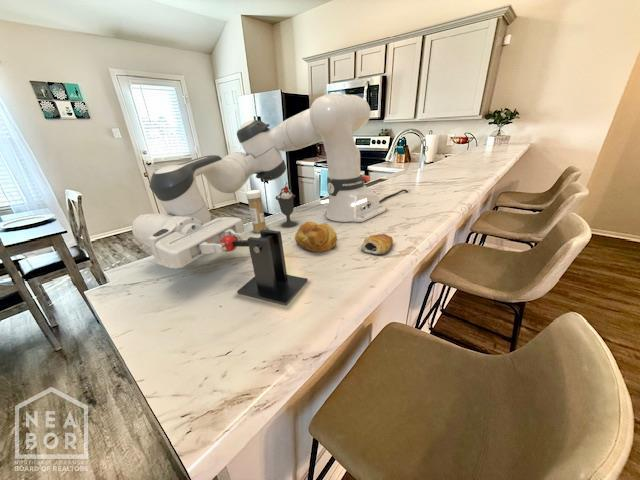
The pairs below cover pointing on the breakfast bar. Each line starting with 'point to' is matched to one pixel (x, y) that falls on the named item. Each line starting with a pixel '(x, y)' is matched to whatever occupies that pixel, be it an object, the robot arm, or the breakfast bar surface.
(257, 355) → the breakfast bar surface
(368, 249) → the pastry
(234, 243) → the switch lever
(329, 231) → the bread roll
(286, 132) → the robot arm
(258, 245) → the switch base
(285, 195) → the sundae
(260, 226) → the sprinkles bottle
